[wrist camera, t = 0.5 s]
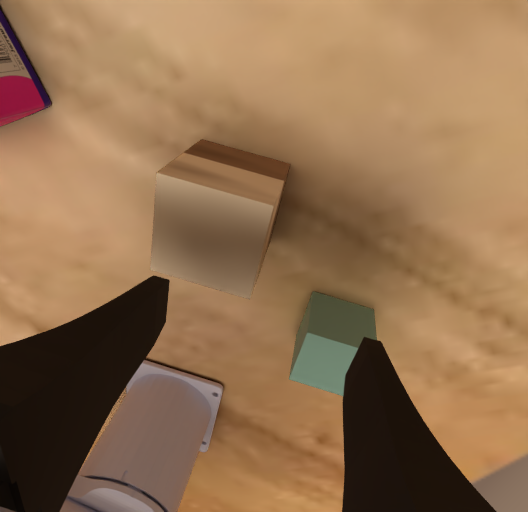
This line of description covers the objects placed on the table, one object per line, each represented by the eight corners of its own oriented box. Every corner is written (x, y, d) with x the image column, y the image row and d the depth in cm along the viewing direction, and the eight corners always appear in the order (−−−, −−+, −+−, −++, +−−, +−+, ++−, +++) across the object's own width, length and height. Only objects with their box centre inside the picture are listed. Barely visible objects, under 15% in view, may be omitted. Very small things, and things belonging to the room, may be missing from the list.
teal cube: (352, 351, 26) (352, 399, 23) (296, 334, 26) (289, 379, 23) (373, 308, 24) (378, 354, 21) (313, 290, 24) (307, 332, 21)
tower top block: (262, 266, 20) (249, 299, 18) (174, 240, 21) (150, 269, 18) (284, 181, 18) (273, 205, 15) (183, 152, 18) (156, 172, 15)
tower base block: (270, 240, 23) (260, 266, 20) (192, 218, 23) (173, 241, 21) (290, 163, 20) (282, 181, 18) (202, 138, 21) (182, 153, 18)
